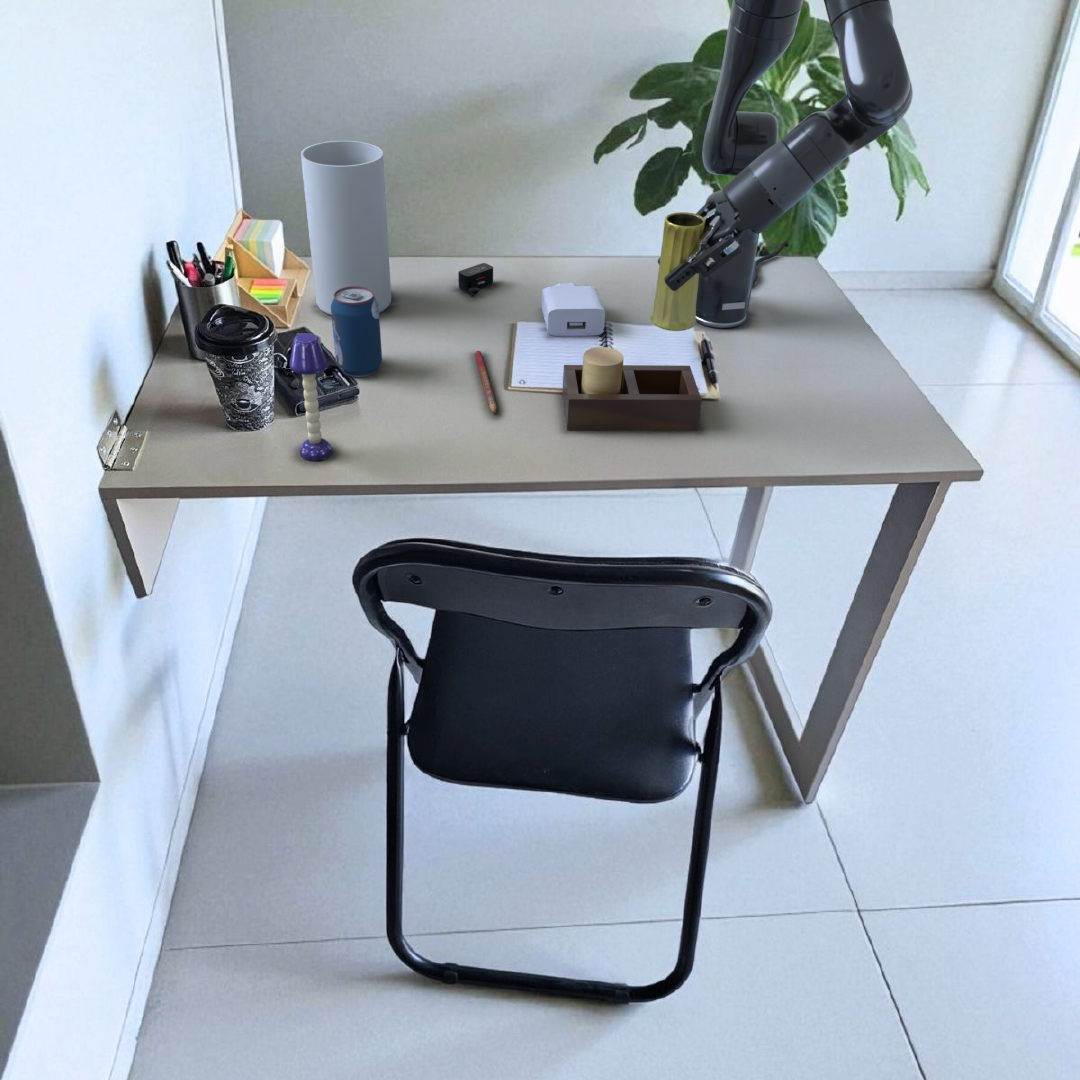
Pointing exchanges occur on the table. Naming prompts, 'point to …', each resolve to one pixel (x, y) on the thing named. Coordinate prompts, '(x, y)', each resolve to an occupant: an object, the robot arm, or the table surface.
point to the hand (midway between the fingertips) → (665, 275)
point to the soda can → (356, 331)
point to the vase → (676, 247)
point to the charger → (572, 310)
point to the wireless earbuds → (475, 278)
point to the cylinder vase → (347, 219)
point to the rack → (635, 400)
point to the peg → (602, 371)
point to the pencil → (486, 382)
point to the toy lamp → (310, 392)
